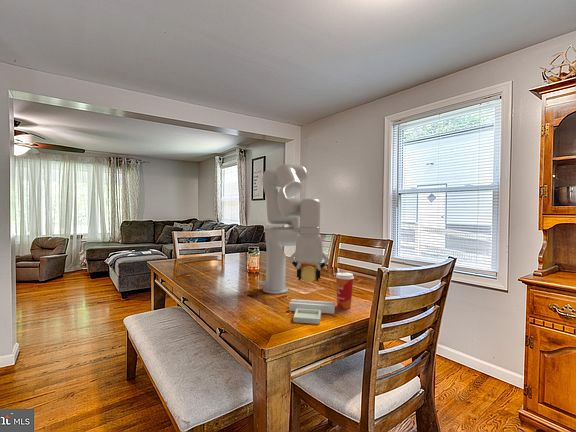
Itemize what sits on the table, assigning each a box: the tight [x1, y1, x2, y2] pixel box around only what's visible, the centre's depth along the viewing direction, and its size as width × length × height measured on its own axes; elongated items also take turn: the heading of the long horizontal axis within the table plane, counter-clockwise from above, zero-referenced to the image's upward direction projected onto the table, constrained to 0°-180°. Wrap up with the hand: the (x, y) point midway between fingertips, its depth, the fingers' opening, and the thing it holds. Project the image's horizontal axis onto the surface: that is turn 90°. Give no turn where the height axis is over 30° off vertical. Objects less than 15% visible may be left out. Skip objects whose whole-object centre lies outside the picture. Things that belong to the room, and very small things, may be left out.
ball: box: [301, 265, 317, 283], centre depth 112 cm, size 6×6×6 cm
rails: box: [288, 298, 336, 315], centre depth 122 cm, size 18×5×3 cm, turn 81°
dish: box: [292, 308, 322, 325], centre depth 113 cm, size 10×10×2 cm
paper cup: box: [335, 272, 355, 310], centre depth 126 cm, size 8×8×14 cm
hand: (308, 279), depth 112 cm, fingers closed on ball, 5 cm apart
